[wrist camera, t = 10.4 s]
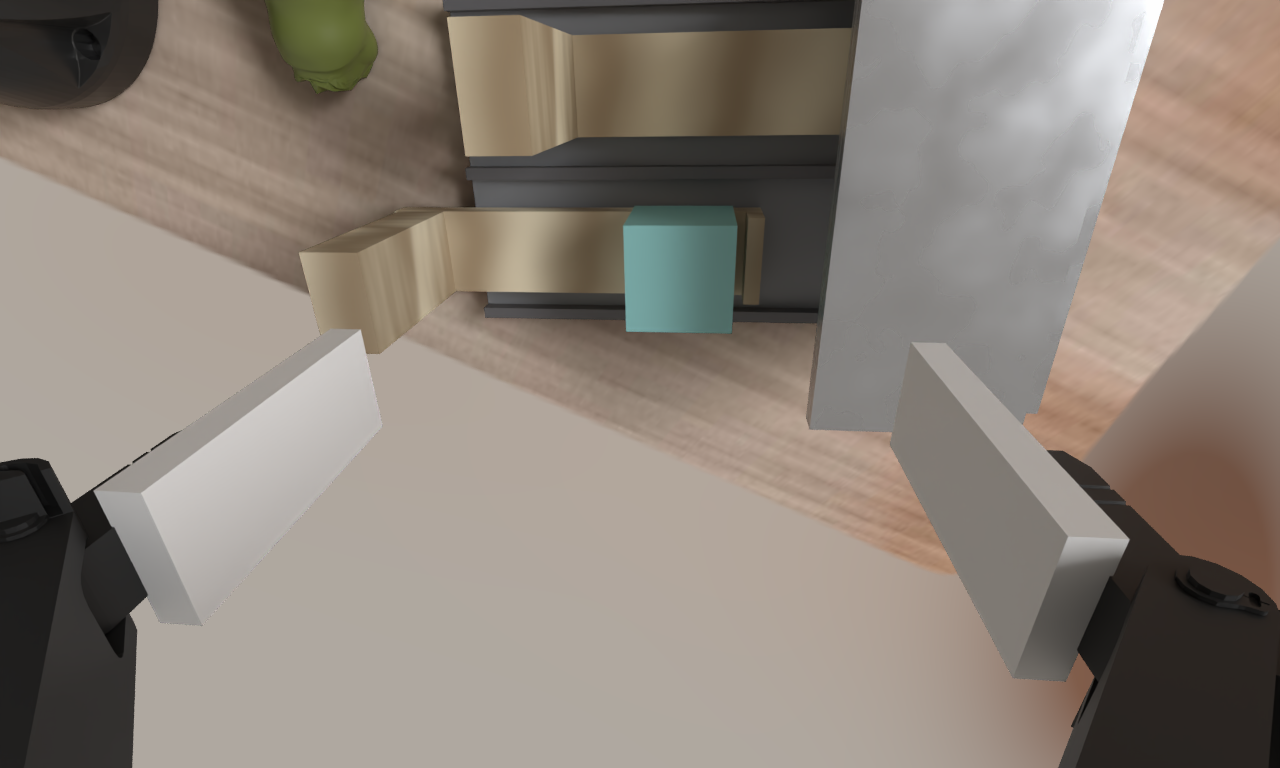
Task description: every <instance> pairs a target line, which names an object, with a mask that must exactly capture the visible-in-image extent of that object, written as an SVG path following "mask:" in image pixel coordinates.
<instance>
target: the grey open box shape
mask: <svg viewBox="0 0 1280 768" xmlns="http://www.w3.org/2000/svg"><path fill="white" fill-rule="evenodd" d="M1163 2H1164V0H855V5H854V14H853V22H852V31H851V39H850V48H849V56H848V65H847V73H846V82H845V90H844V99H843V107H842V116H841V124H840V133H839V141H838V150H837V158H836V167H835V175H834V184H833V192H832V201H831V209H830V218H829V226H828V235H827V243H826V252H825V260H824V269H823V277H822V286H821V294H820V303H819V311H818V320H817V328H816V337H815V345H814V353H813V362H812V370H811V379H810V387H809V396H808V404H807V413H806V419H807V422H808V426H809V429H812V430H842V431H872V432H893V427H894V422H895V417H896V412H897V408H898V403H899V398H900V393H901V388H902V383H903V378H904V374H905V369H906V364H907V359H908V354H909V349H910V344H911V342H921V343H946V344H947V345H948V346H949V347H950V348H951V349H952V350H953V352H954V353H955V354H956V355H957V356H958V357H959V358H960V359H961V360H962V361H963V362H964V363H965V364H966V365H967V366H968V368H969V369H970V370H971V371H972V372H973V373H974V374H975V375H976V376H977V377H978V378H979V379H980V380H981V381H982V382H983V383H984V385H985V386H986V387H987V388H988V389H989V390H990V391H991V392H992V393H993V394H994V395H995V396H996V397H997V398H998V399H999V401H1000V402H1001V403H1002V404H1003V405H1004V406H1005V407H1006V408H1007V409H1008V410H1009V411H1010V412H1011V413H1012V414H1013V415H1014V417H1015V418H1016V419H1017V420H1018V421H1019V422H1020V423H1021V424H1022V425H1023V422H1024V419H1025V415H1026V413H1033V414H1037V413H1038V409H1039V406H1040V403H1041V400H1042V396H1043V393H1044V390H1045V387H1046V383H1047V380H1048V377H1049V374H1050V370H1051V367H1052V364H1053V361H1054V357H1055V354H1056V351H1057V348H1058V344H1059V341H1060V338H1061V334H1062V331H1063V328H1064V325H1065V321H1066V318H1067V315H1068V312H1069V308H1070V305H1071V302H1072V299H1073V295H1074V292H1075V289H1076V286H1077V282H1078V279H1079V276H1080V273H1081V269H1082V266H1083V263H1084V260H1085V256H1086V253H1087V250H1088V247H1089V243H1090V240H1091V237H1092V233H1093V230H1094V227H1095V224H1096V220H1097V217H1098V214H1099V211H1100V207H1101V204H1102V201H1103V198H1104V194H1105V191H1106V188H1107V185H1108V181H1109V178H1110V175H1111V172H1112V168H1113V165H1114V162H1115V159H1116V155H1117V152H1118V149H1119V145H1120V142H1121V139H1122V136H1123V132H1124V129H1125V126H1126V123H1127V119H1128V116H1129V113H1130V110H1131V106H1132V103H1133V100H1134V97H1135V93H1136V90H1137V87H1138V84H1139V80H1140V77H1141V74H1142V71H1143V67H1144V64H1145V61H1146V58H1147V54H1148V51H1149V48H1150V44H1151V41H1152V38H1153V35H1154V31H1155V28H1156V25H1157V22H1158V18H1159V15H1160V12H1161V9H1162V5H1163Z"/></svg>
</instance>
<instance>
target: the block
mask: <svg viewBox="0 0 1280 768" xmlns="http://www.w3.org/2000/svg"><path fill="white" fill-rule="evenodd" d="M623 237H624V273H625V309H626V332H675V333H727V334H732V320H733V301H734V283H735V264H736V245H737V222H736V217H735V213H734V209H733V206H634V208H633V210H632V211H631V213H630V215H629V216H628V218H627V220H626V222H625V223H624V225H623Z"/></svg>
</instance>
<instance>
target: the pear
mask: <svg viewBox="0 0 1280 768" xmlns="http://www.w3.org/2000/svg"><path fill="white" fill-rule="evenodd" d="M264 1H265V3H266V6H267V10H268V16H269V23H270V28H271V33H272V36H273V39H274V41H275V44H276V46H277V48H278V50H279V52H280V54H281V56H282V58H283V59H284V61H285V62H286V63H288V64H289V65H291V66H292V68H293V70H294V77H295V80H296V81H297V82H302V81H306V80H307V81H310V83H311V85H312V87H313V89H314V91H315V92H316V93H317V94H318V93H321V92H324V91H327V90H330V91H334V92H335V91H347V90H352V89H353V87H354V86H355V85H356V84H357V82H358V81H359V80H360V79H361V78H365V77H366V78H367V76H368V74H369V72H370V70H371V68H372V66H373V62H374V61H375V59H376V57H377V53H378V46H377V42H376V39H375V36H374V34H373V33H372V31H371V29H370V28H369V26H368V25H367V23H366V21H365V12H364V0H264Z"/></svg>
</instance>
